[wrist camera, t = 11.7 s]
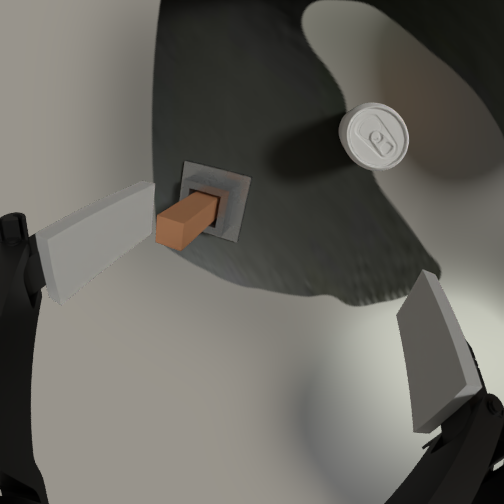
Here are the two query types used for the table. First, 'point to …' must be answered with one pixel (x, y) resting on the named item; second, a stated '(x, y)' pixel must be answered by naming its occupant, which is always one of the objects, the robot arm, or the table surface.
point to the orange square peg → (186, 219)
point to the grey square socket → (220, 184)
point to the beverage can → (374, 136)
